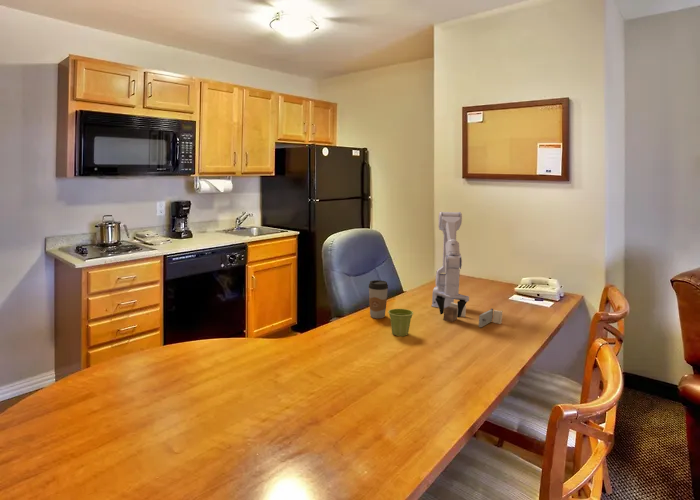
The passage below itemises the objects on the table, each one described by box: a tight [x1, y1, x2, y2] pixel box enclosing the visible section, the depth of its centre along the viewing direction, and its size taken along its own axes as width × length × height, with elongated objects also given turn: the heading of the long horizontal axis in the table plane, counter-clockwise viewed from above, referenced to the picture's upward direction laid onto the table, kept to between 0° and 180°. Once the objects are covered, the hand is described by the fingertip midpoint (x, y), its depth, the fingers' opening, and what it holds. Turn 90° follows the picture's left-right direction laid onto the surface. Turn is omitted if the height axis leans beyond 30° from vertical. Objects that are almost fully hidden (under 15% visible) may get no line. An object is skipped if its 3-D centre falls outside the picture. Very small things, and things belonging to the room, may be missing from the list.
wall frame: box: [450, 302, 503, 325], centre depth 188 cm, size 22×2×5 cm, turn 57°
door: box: [478, 308, 494, 328], centre depth 180 cm, size 11×2×5 cm, turn 139°
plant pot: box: [387, 308, 414, 337], centre depth 167 cm, size 9×9×9 cm
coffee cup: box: [368, 279, 389, 319], centre depth 188 cm, size 8×8×15 cm
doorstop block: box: [443, 306, 458, 323], centre depth 186 cm, size 4×5×5 cm
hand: (450, 315), depth 186 cm, fingers open, 7 cm apart
